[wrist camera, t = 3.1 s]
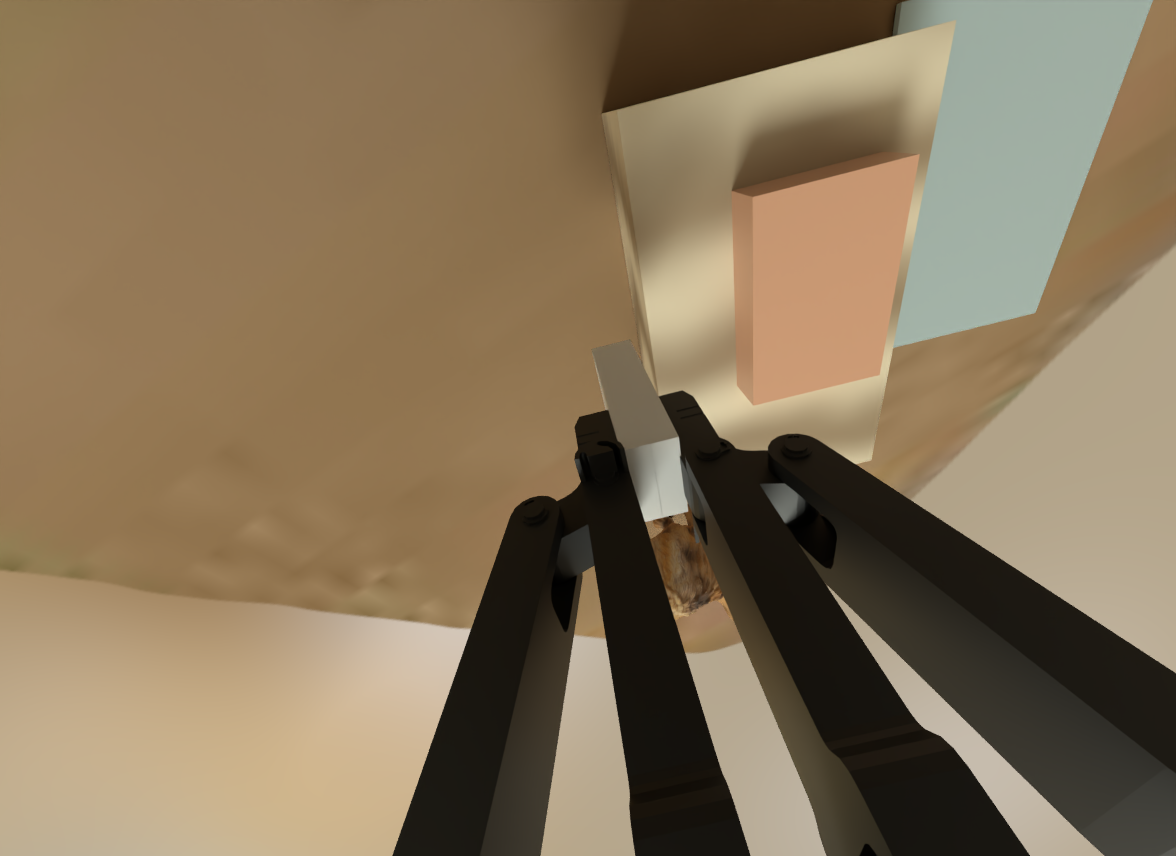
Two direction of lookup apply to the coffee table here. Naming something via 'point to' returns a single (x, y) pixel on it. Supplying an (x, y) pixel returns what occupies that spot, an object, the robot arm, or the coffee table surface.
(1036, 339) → the coffee table surface
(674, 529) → the lion figurine
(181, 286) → the coffee table surface
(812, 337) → the tile
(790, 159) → the plate
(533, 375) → the coffee table surface
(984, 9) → the mat
